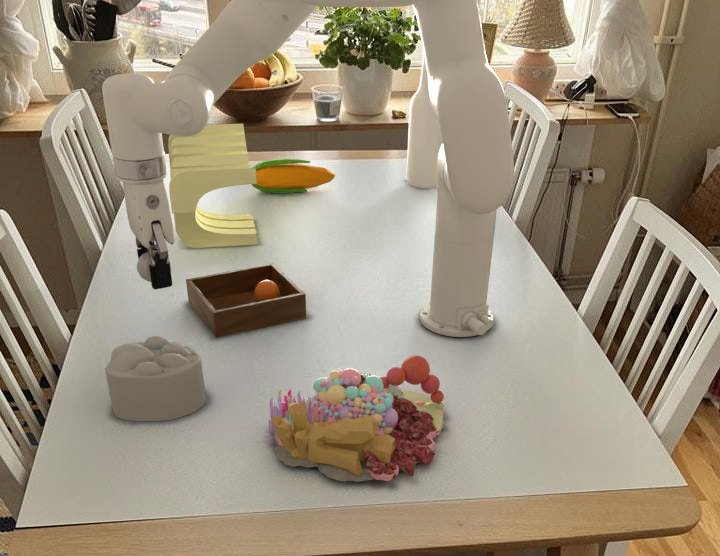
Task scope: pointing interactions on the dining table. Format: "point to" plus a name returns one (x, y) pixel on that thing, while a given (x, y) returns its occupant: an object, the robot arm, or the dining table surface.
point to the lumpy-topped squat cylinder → (155, 380)
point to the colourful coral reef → (361, 423)
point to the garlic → (145, 266)
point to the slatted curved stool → (209, 185)
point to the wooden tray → (244, 300)
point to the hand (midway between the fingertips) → (156, 278)
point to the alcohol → (423, 137)
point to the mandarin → (266, 291)
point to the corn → (289, 176)
